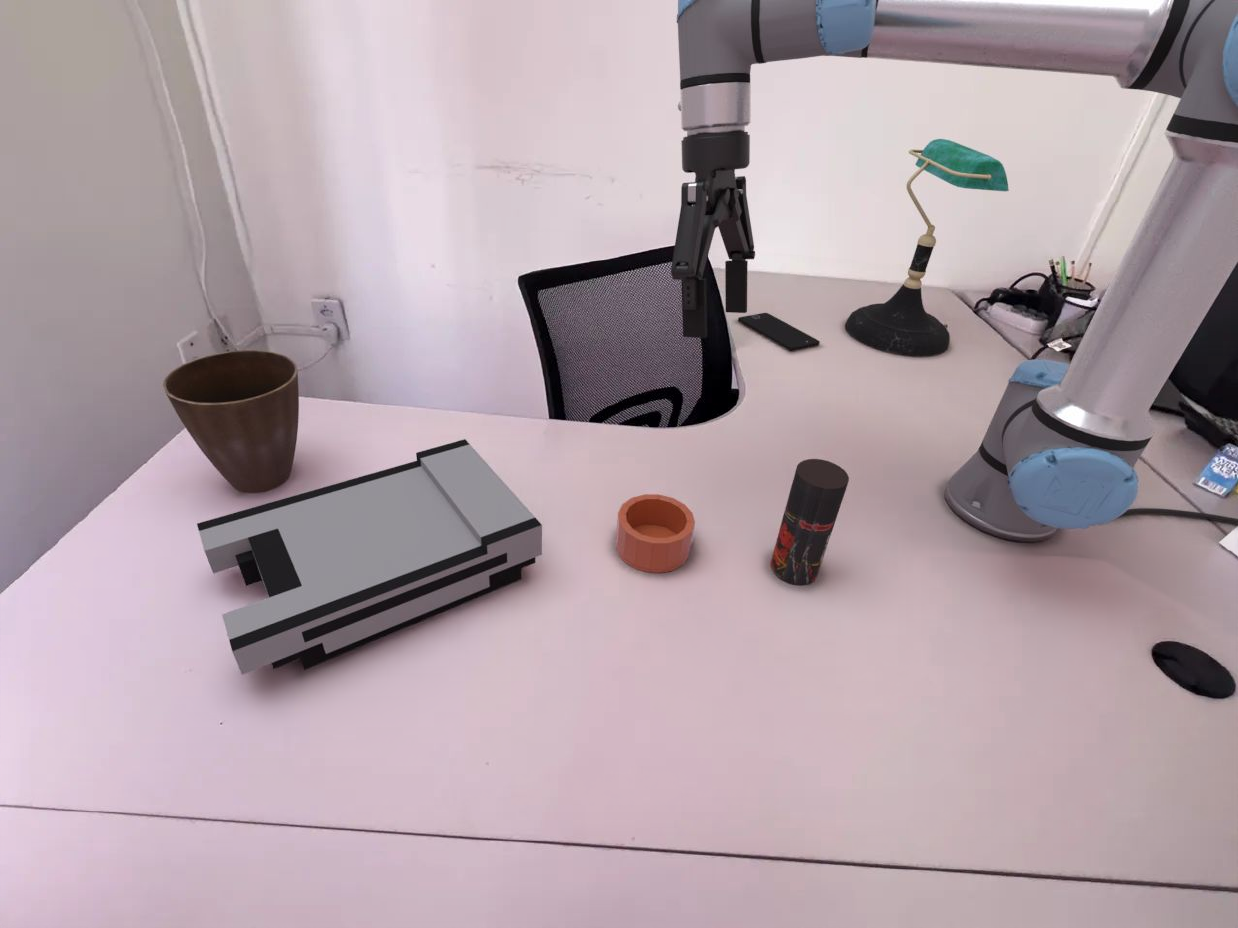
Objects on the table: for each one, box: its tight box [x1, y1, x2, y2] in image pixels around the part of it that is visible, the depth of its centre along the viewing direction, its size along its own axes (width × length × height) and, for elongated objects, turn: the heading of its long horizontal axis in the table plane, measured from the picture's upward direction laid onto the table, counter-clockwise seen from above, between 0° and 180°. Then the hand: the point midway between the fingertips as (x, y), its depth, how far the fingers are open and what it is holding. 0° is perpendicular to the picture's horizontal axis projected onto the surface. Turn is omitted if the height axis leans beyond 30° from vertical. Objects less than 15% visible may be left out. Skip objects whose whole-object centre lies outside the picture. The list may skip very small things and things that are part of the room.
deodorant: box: [770, 458, 850, 586], centre depth 79 cm, size 6×6×15 cm
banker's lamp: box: [844, 138, 1010, 358], centre depth 139 cm, size 26×23×40 cm
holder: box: [615, 493, 696, 574], centre depth 83 cm, size 10×10×5 cm
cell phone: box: [737, 312, 820, 352], centre depth 147 cm, size 9×18×1 cm, turn 31°
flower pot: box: [162, 349, 300, 494], centre depth 87 cm, size 15×15×16 cm
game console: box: [196, 438, 543, 676], centre depth 75 cm, size 21×32×8 cm, turn 125°
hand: (717, 324), depth 81 cm, fingers open, 13 cm apart
